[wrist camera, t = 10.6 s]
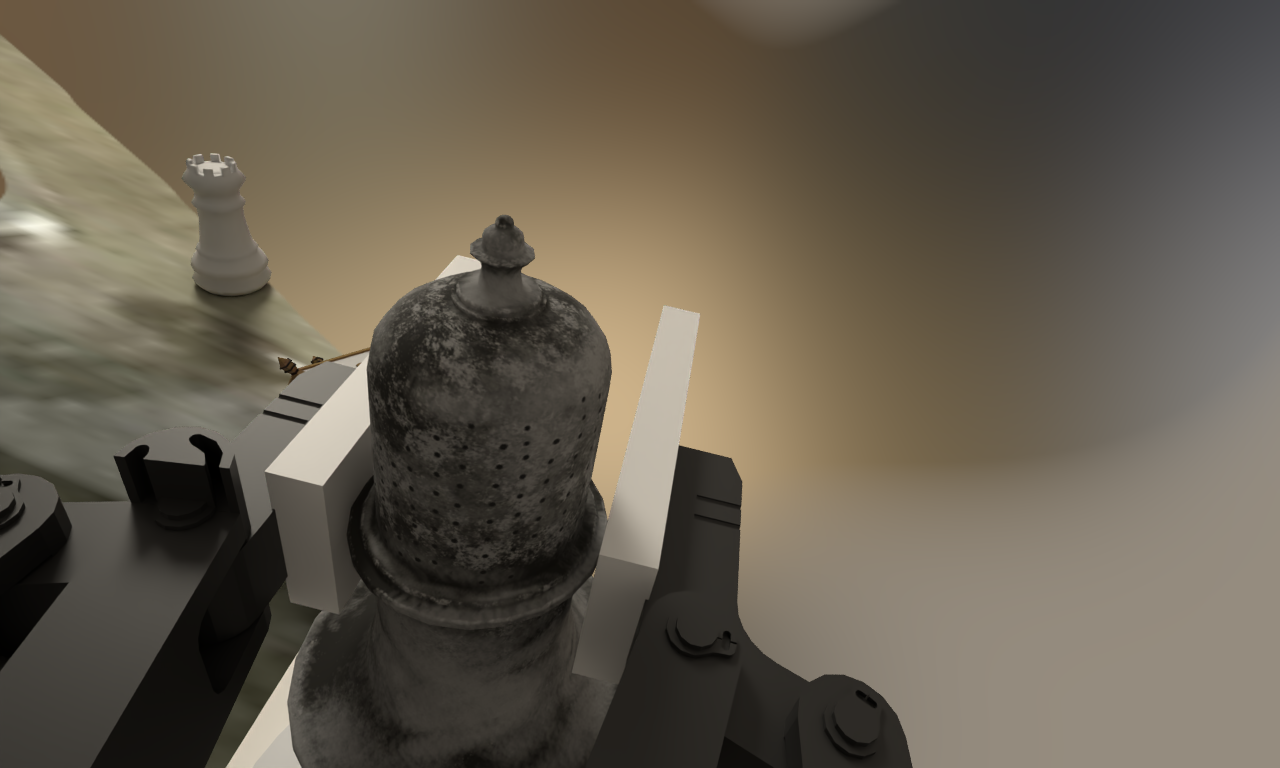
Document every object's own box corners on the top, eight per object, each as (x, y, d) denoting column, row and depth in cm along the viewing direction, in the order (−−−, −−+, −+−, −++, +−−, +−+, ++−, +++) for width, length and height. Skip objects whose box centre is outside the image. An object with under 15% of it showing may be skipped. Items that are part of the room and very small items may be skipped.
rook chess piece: (180, 275, 44) (150, 153, 39) (250, 258, 47) (231, 143, 42) (215, 306, 42) (188, 182, 37) (286, 286, 45) (269, 169, 40)
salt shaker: (660, 809, 14) (897, 314, 7) (366, 1020, 11) (249, 492, 4) (527, 593, 17) (595, 117, 10) (276, 702, 14) (127, 121, 7)
